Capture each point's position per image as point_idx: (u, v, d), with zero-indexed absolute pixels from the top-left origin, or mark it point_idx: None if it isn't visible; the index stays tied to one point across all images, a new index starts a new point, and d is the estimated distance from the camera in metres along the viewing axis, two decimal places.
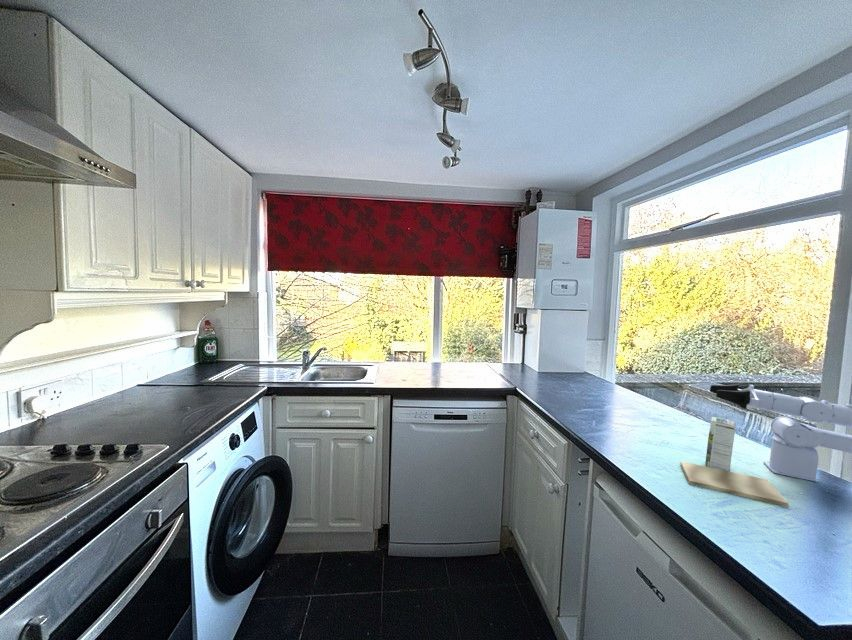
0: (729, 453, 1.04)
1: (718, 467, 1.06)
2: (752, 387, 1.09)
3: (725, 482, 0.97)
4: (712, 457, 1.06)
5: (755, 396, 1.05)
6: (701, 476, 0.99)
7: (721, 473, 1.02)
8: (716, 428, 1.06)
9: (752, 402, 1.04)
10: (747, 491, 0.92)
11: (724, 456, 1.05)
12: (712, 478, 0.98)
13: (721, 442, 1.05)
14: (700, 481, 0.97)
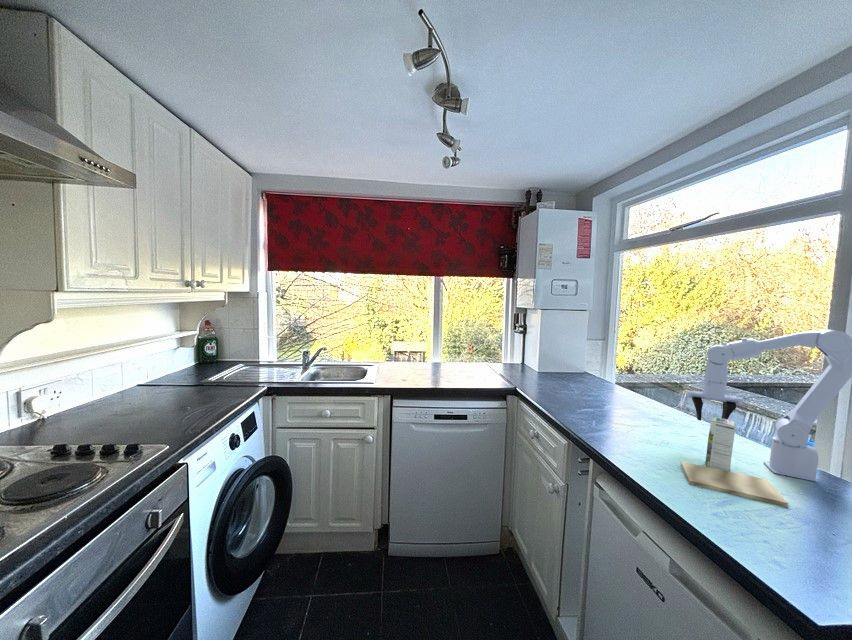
0: (729, 453, 1.04)
1: (718, 467, 1.06)
2: None
3: (725, 482, 0.97)
4: (712, 457, 1.06)
5: None
6: (701, 476, 0.99)
7: (721, 473, 1.02)
8: (716, 428, 1.06)
9: (687, 395, 1.20)
10: (747, 491, 0.92)
11: (724, 456, 1.05)
12: (712, 478, 0.98)
13: (721, 442, 1.05)
14: (700, 481, 0.97)
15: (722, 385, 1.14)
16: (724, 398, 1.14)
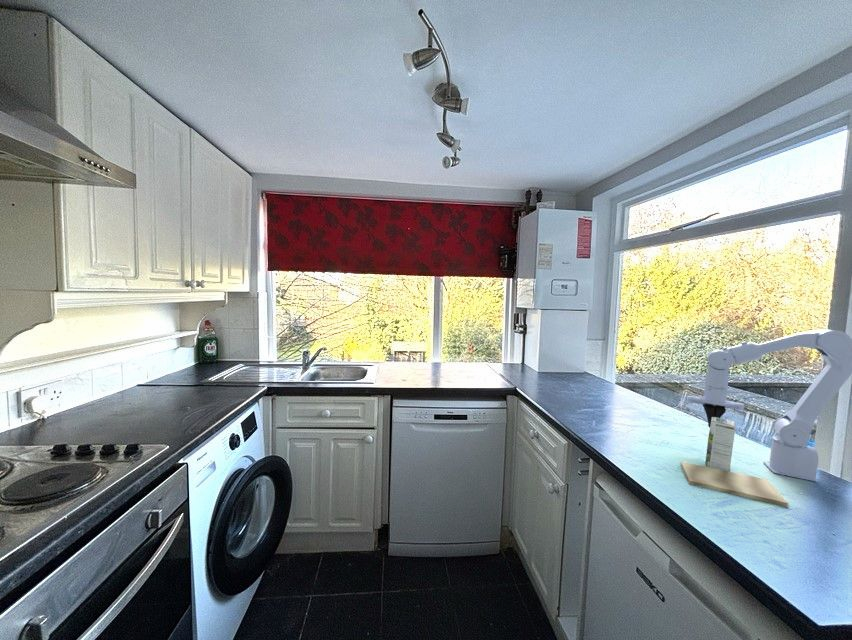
0: (729, 453, 1.04)
1: (718, 467, 1.06)
2: None
3: (725, 482, 0.97)
4: (712, 457, 1.06)
5: None
6: (701, 476, 0.99)
7: (721, 473, 1.02)
8: (716, 428, 1.06)
9: (687, 400, 1.19)
10: (747, 491, 0.92)
11: (724, 456, 1.05)
12: (712, 478, 0.98)
13: (721, 442, 1.05)
14: (700, 481, 0.97)
15: (723, 391, 1.13)
16: (725, 404, 1.13)
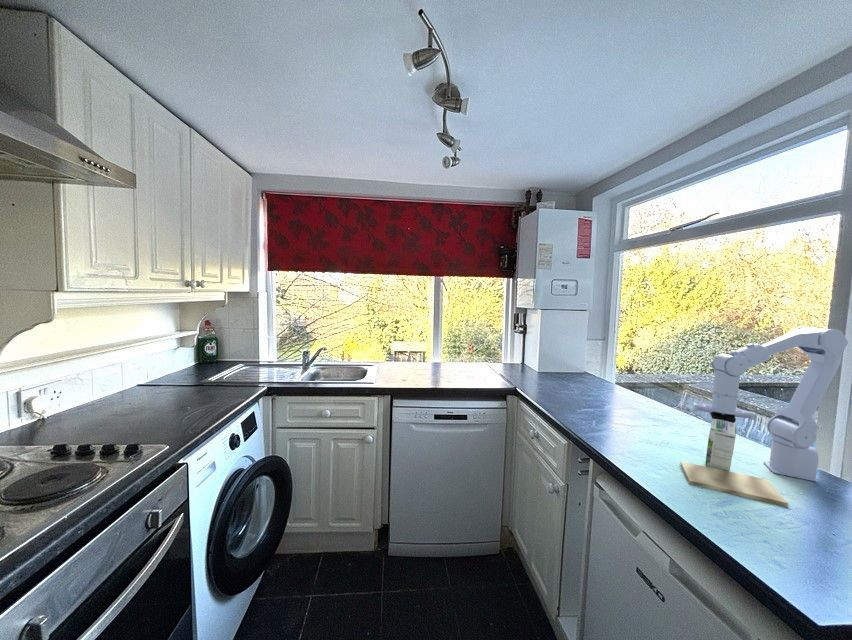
0: (729, 457, 1.02)
1: (718, 468, 1.05)
2: None
3: (725, 482, 0.97)
4: (712, 459, 1.05)
5: None
6: (701, 476, 0.99)
7: (721, 473, 1.02)
8: (716, 436, 1.02)
9: (693, 408, 1.10)
10: (747, 491, 0.92)
11: (724, 459, 1.03)
12: (712, 478, 0.98)
13: (721, 448, 1.02)
14: (700, 481, 0.97)
15: (733, 398, 1.04)
16: (735, 413, 1.04)
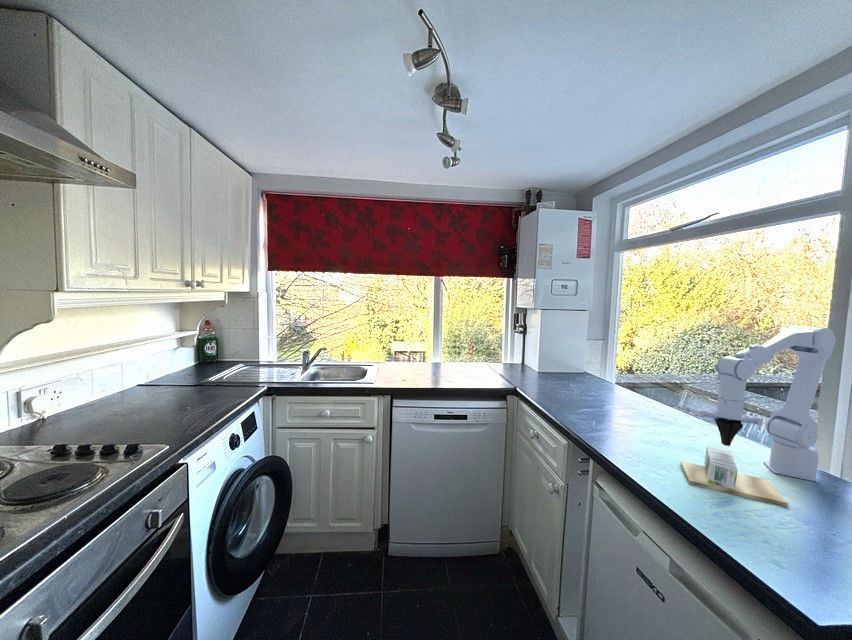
0: None
1: None
2: None
3: None
4: None
5: None
6: (701, 476, 0.99)
7: None
8: None
9: (698, 414, 1.05)
10: (747, 491, 0.92)
11: None
12: None
13: None
14: (700, 481, 0.97)
15: (740, 403, 0.99)
16: (742, 418, 0.99)
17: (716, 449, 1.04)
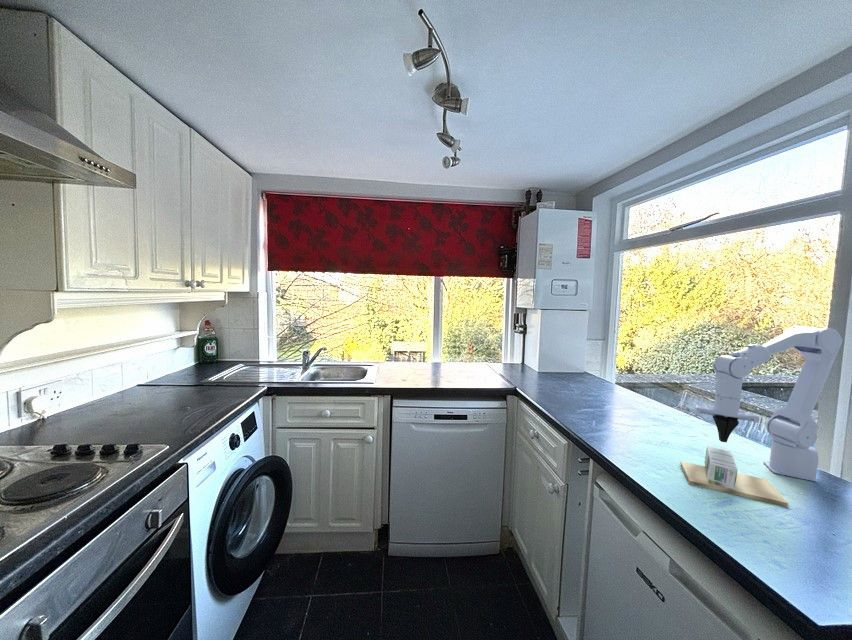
0: None
1: None
2: None
3: None
4: None
5: None
6: (701, 476, 0.99)
7: None
8: None
9: (696, 411, 1.08)
10: (747, 491, 0.92)
11: None
12: None
13: None
14: (700, 481, 0.97)
15: (736, 401, 1.02)
16: (738, 415, 1.02)
17: (716, 449, 1.04)
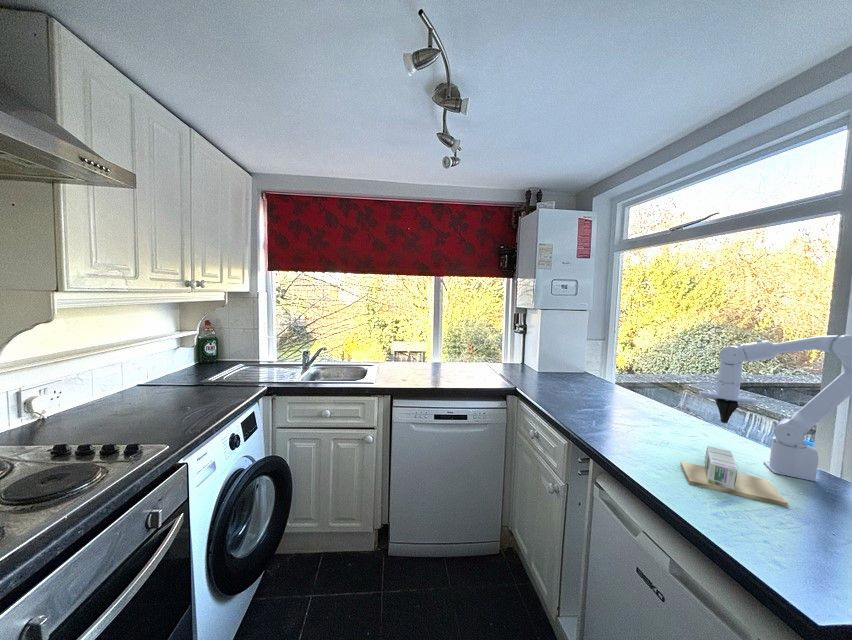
0: None
1: None
2: None
3: None
4: None
5: None
6: (701, 476, 0.99)
7: None
8: None
9: (700, 395, 1.20)
10: (747, 491, 0.92)
11: None
12: None
13: None
14: (700, 481, 0.97)
15: (736, 386, 1.14)
16: (738, 399, 1.14)
17: (716, 449, 1.04)
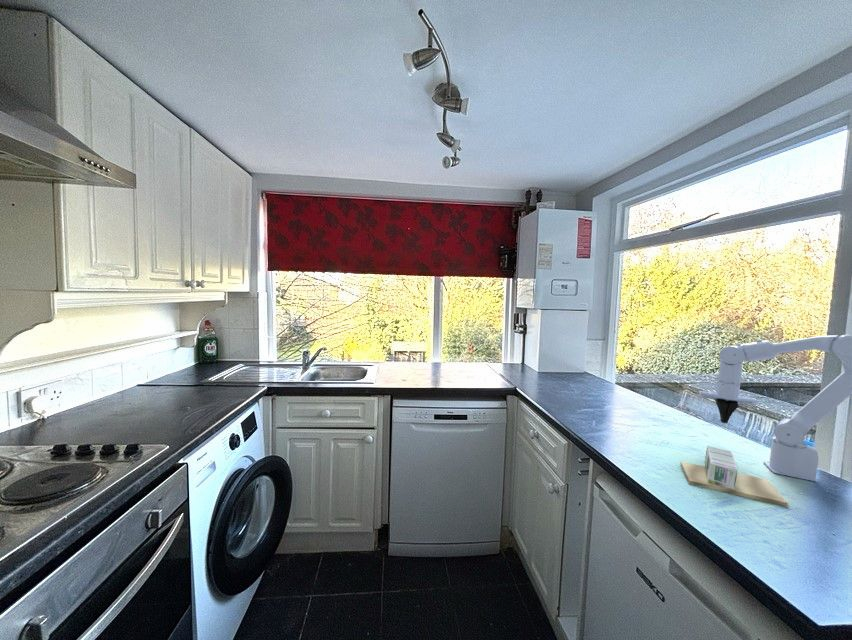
0: None
1: None
2: None
3: None
4: None
5: None
6: (701, 476, 0.99)
7: None
8: None
9: (700, 395, 1.20)
10: (747, 491, 0.92)
11: None
12: None
13: None
14: (700, 481, 0.97)
15: (736, 386, 1.14)
16: (738, 399, 1.14)
17: (716, 449, 1.04)
